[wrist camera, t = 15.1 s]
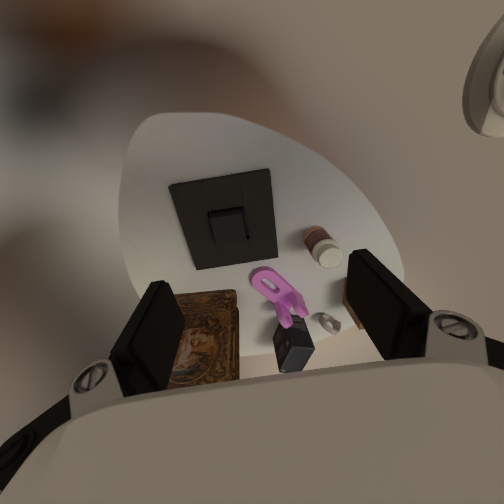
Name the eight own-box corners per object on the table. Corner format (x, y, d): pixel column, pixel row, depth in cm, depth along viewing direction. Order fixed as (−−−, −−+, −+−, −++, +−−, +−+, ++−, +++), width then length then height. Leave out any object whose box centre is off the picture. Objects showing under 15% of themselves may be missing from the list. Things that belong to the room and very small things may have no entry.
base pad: (268, 168, 35) (269, 170, 33) (276, 252, 43) (278, 257, 42) (171, 184, 35) (168, 187, 34) (198, 265, 44) (196, 270, 42)
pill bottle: (298, 241, 42) (310, 264, 35) (312, 221, 40) (328, 241, 33) (316, 250, 44) (332, 274, 36) (331, 231, 42) (351, 253, 34)
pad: (241, 206, 38) (241, 213, 34) (245, 233, 41) (246, 242, 37) (211, 210, 38) (209, 218, 35) (218, 237, 41) (216, 247, 37)
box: (291, 340, 57) (300, 375, 49) (272, 337, 56) (278, 373, 48) (303, 315, 53) (316, 349, 45) (282, 312, 52) (291, 346, 44)
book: (169, 313, 50) (117, 454, 28) (162, 295, 47) (99, 436, 25) (238, 306, 50) (240, 440, 28) (236, 288, 47) (236, 421, 26)
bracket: (301, 295, 49) (310, 317, 43) (283, 307, 51) (289, 331, 45) (265, 261, 44) (270, 282, 38) (246, 277, 46) (247, 299, 40)
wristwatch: (330, 322, 55) (338, 338, 50) (314, 316, 53) (321, 332, 49) (337, 314, 54) (346, 331, 49) (321, 308, 52) (329, 325, 48)
